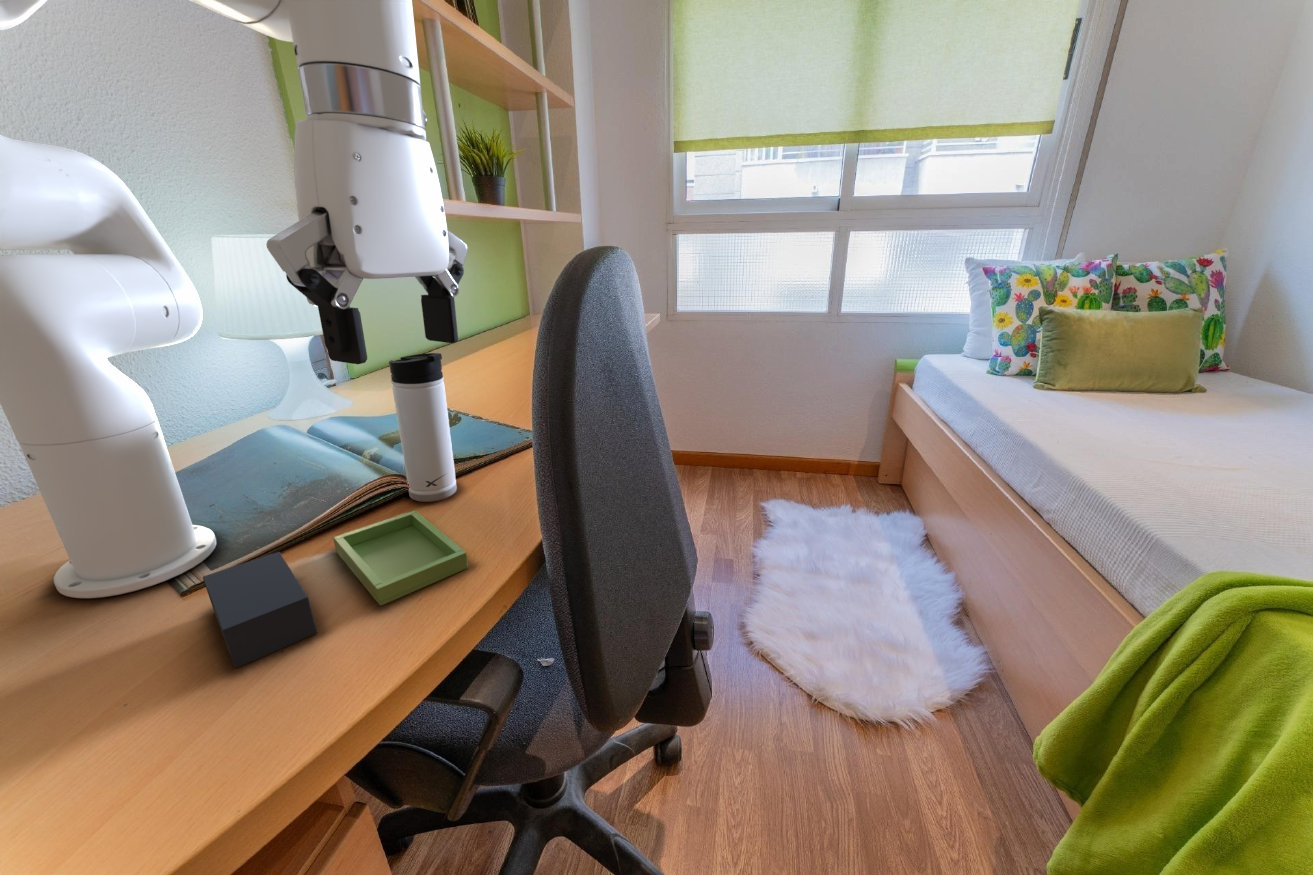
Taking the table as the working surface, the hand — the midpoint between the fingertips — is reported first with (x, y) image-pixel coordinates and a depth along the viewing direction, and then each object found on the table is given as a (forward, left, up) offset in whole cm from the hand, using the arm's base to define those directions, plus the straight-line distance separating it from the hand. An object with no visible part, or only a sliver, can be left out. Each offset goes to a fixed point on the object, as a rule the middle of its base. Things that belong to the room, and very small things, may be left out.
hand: (400, 350), depth 43 cm
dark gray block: (-8, -13, -25) cm, 29 cm away
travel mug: (-23, +10, -25) cm, 36 cm away
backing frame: (-10, 0, -25) cm, 27 cm away
